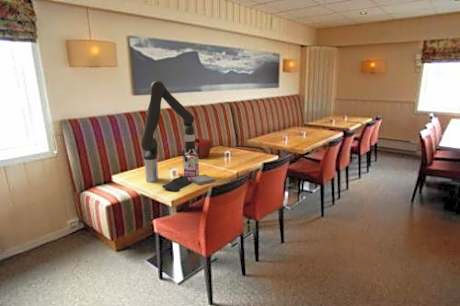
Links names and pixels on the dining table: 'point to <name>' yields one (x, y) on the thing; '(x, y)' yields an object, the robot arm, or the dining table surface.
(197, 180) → the slate board
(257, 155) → the dining table surface
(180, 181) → the dark slate chunk
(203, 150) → the plant pot
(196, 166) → the candy bar box
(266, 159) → the dining table surface
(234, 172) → the dining table surface
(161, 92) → the robot arm
